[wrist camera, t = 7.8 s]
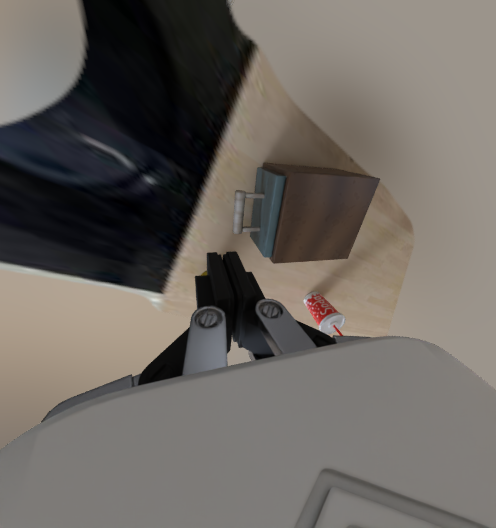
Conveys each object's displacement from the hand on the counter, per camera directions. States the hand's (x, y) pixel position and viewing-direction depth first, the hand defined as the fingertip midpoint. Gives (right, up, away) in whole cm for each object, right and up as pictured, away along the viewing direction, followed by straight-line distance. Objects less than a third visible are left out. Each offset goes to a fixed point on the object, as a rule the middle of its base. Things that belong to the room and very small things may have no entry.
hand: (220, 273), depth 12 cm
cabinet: (+10, +11, +24) cm, 29 cm away
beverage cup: (+18, -8, +40) cm, 45 cm away
